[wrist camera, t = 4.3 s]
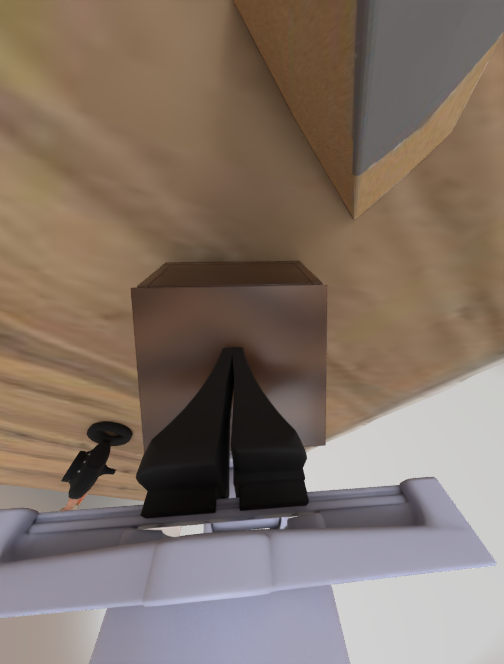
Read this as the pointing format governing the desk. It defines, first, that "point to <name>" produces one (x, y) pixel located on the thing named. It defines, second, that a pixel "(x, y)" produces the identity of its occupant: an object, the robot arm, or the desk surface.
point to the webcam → (94, 458)
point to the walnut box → (230, 274)
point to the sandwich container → (374, 78)
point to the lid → (232, 331)
